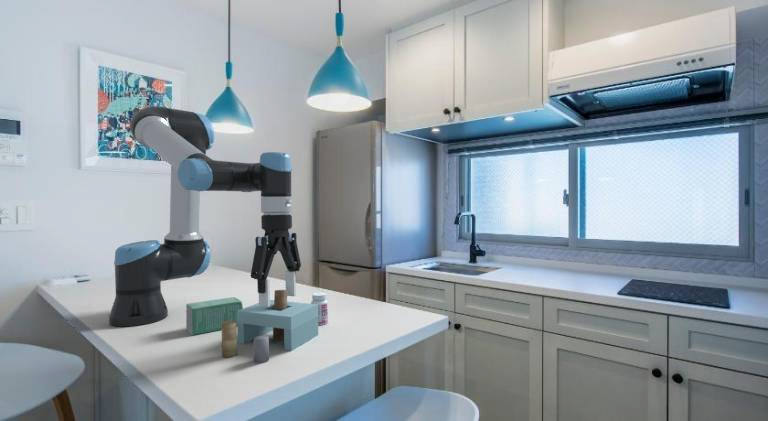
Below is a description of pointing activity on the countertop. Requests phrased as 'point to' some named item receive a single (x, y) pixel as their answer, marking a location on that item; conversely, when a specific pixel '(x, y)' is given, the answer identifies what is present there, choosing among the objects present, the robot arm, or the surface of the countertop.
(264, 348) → the charcoal pin
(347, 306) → the countertop surface
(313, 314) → the bridge
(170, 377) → the countertop surface
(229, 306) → the box
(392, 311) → the countertop surface
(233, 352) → the oak pin
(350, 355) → the countertop surface
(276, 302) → the walnut pin
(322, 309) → the pill bottle
